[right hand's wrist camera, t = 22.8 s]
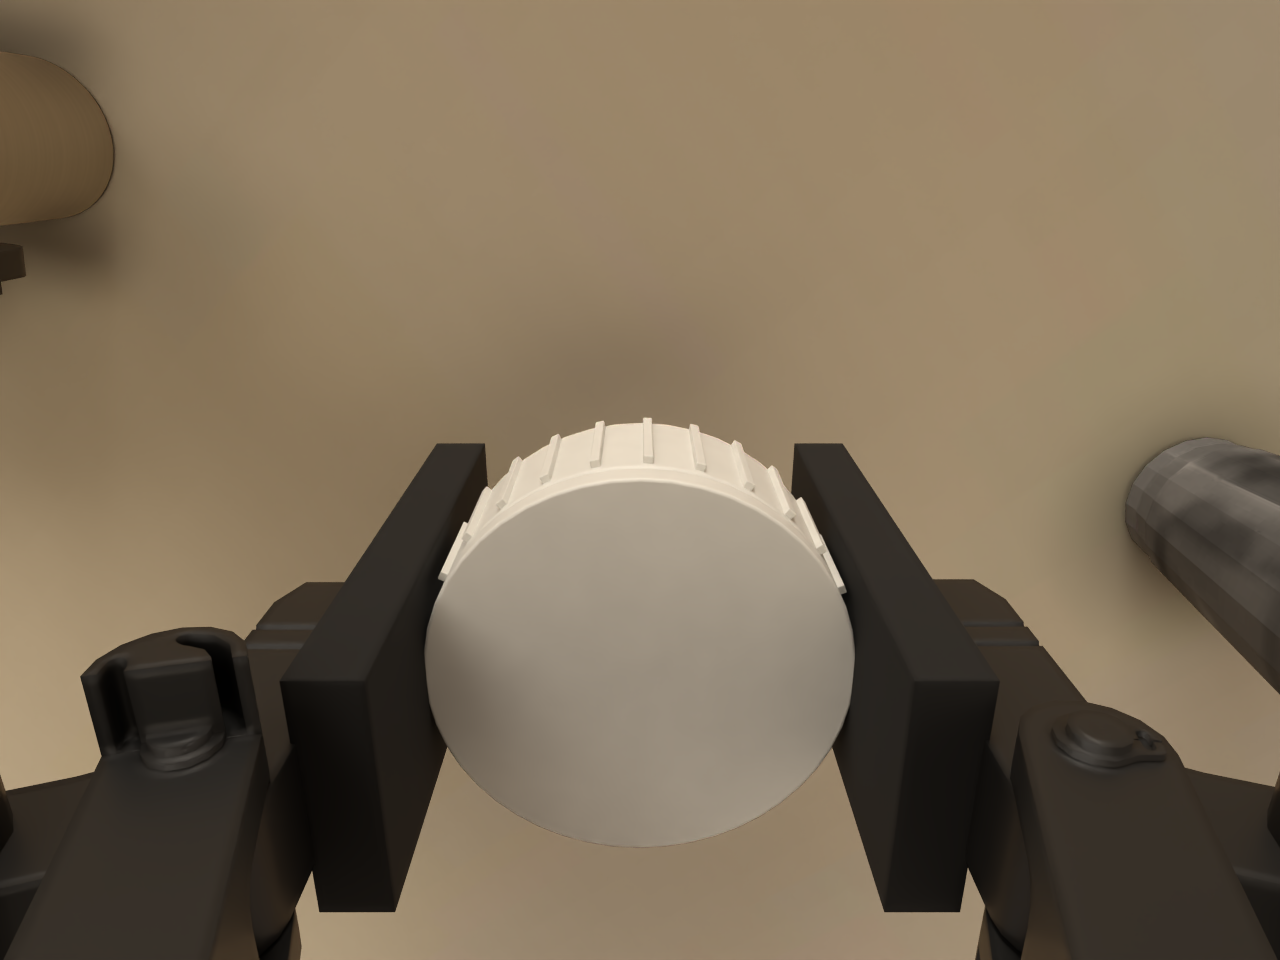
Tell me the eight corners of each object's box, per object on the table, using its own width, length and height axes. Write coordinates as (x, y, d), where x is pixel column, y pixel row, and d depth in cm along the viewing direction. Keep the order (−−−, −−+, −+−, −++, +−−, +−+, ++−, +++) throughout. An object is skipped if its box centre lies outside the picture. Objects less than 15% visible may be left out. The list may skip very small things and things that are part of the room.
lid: (516, 780, 13) (495, 888, 11) (396, 468, 11) (348, 534, 9) (856, 708, 13) (894, 808, 11) (788, 371, 11) (818, 419, 9)
